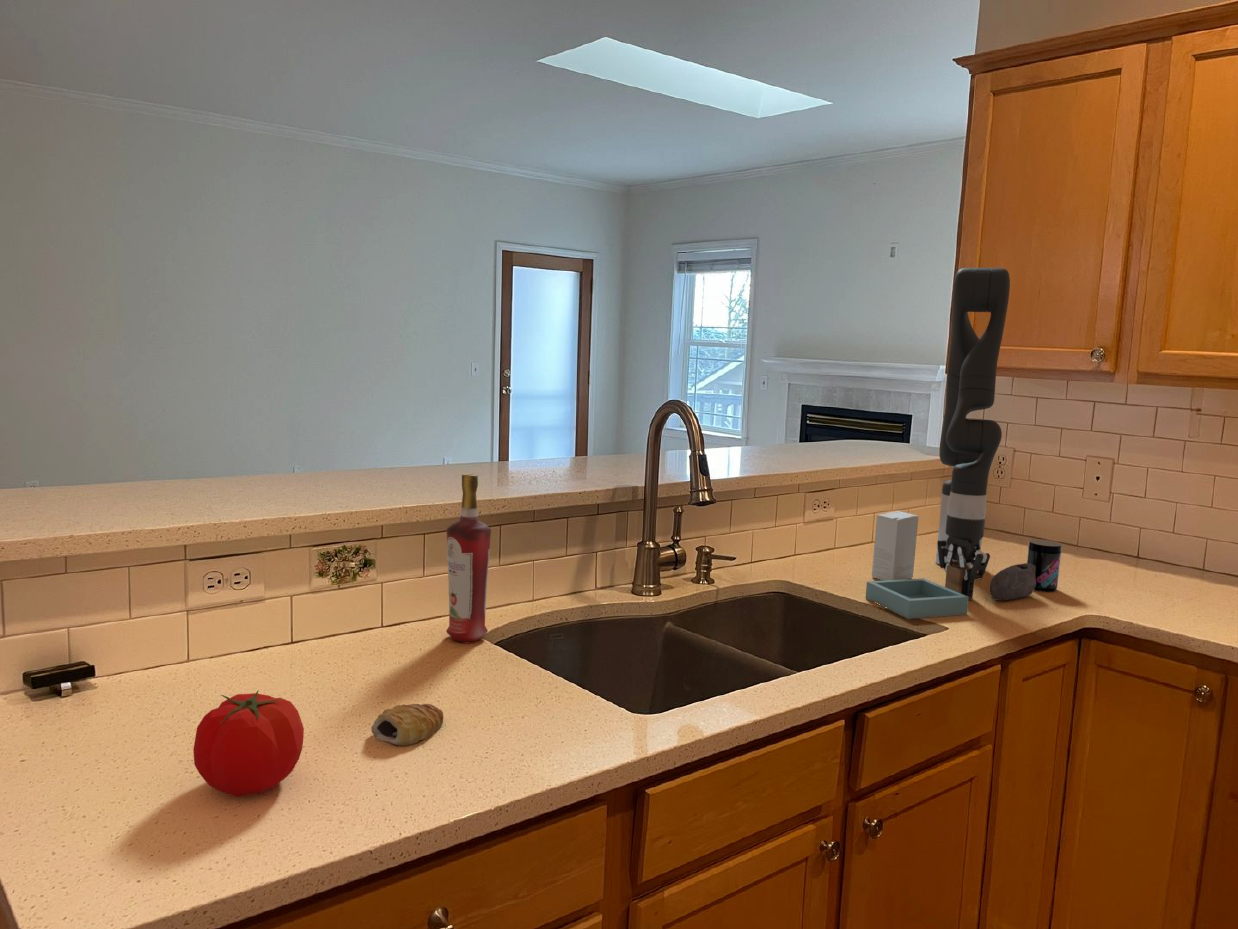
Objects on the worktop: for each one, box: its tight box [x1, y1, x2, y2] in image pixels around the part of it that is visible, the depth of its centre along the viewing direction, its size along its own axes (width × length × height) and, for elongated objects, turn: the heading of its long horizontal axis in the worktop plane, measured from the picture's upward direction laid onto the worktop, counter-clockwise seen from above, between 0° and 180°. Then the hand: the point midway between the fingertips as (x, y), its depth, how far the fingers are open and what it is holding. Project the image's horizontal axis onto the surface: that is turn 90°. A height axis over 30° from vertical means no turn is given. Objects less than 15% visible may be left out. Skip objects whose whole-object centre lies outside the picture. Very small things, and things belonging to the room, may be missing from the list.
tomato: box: [192, 690, 305, 798], centre depth 102 cm, size 12×12×10 cm
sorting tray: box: [865, 577, 970, 620], centre depth 184 cm, size 14×14×4 cm
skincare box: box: [871, 510, 920, 581], centre depth 205 cm, size 8×6×15 cm
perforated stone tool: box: [988, 562, 1036, 602], centre depth 193 cm, size 15×5×7 cm, turn 124°
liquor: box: [446, 473, 492, 643], centre depth 152 cm, size 7×7×28 cm
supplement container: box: [1026, 538, 1063, 593], centre depth 202 cm, size 7×7×10 cm
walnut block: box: [944, 565, 975, 600], centre depth 192 cm, size 4×4×7 cm
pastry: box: [370, 703, 444, 746], centre depth 118 cm, size 9×7×4 cm
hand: (958, 593), depth 193 cm, fingers open, 4 cm apart
